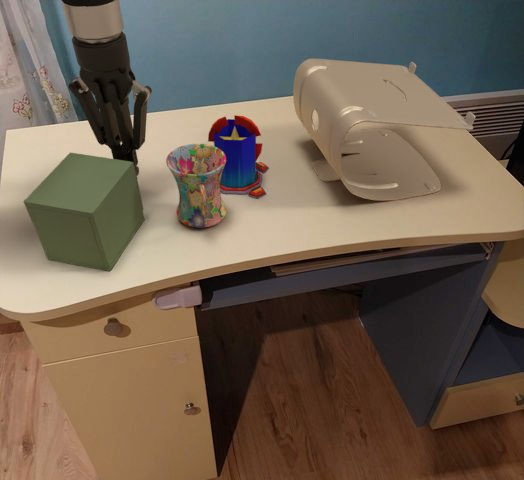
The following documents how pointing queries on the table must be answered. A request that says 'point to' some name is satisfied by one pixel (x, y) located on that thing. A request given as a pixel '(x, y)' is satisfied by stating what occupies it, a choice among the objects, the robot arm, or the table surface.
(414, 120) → the laptop stand
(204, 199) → the mug
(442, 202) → the table surface
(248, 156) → the fantasy tower
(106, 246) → the cabinet
